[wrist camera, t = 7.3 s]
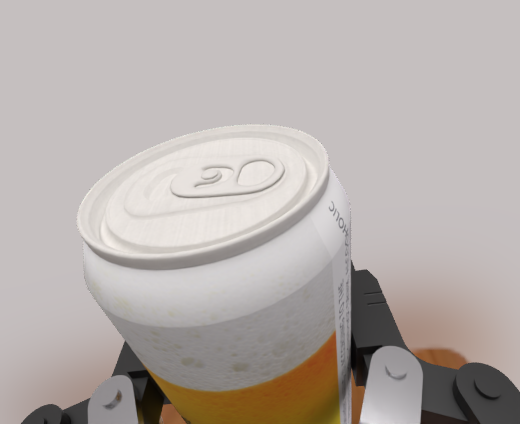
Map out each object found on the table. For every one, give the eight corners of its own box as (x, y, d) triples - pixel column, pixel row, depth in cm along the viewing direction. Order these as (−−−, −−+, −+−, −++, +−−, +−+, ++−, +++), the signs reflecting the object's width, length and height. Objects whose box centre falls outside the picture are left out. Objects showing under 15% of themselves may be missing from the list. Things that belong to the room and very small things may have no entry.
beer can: (237, 374, 18) (136, 133, 10) (344, 377, 17) (336, 106, 9) (214, 515, 13) (-31, 283, 5) (360, 533, 12) (380, 269, 4)
